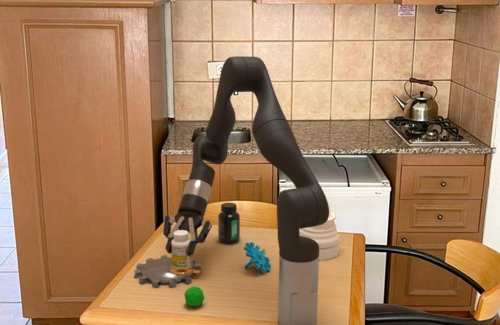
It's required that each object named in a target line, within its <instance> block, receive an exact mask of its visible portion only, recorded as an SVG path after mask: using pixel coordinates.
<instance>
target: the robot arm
mask: <svg viewBox="0 0 500 325" xmlns="http://www.w3.org/2000/svg"><path fill="white" fill-rule="evenodd" d="M250 92H251V93H252V94H254V96H255V97H256V101H257V109H256V112H255V115H254V119H253V121H252V127H251V131H252V136H253V138H254V141H255V143H256V146H257V148H258V152H259V153H260V154H261V156H263V158H264V160H266V161H267V162H268V163H269V164H271V165H272V166H273V167H274V168H276V169H277V170H278V171H280V172H281V173H283V174H284V175H285V176H286V177H287V178H288V179H289V180H290V181H291V182H292V184H293V185H294V188H289V189H284V190H281V191H280V193H279V194H278V196H277V201H276V219H277V220H276V224H277V243H278V249H279V250H278V251H279V252H278V253H279V254H278V255H279V257H278V258H279V259H278V264H279V265H278V298H277V299H278V300H277V301H278V304H277V305H278V306H277V307H278V310H277V312H278V313H277V314H278V315H277V316H278V317H277V321H278V324H279V325H317V323H318V298H319V297H318V296H319V295H318V293H319V269H320V267H319V266H320V260H319V245H318V243H317V242H316V241H314V240H313V239H310V238H307V237H303V236H300V233H299V229H302V228H308V227H314V226H319V225H322V224H324V223H326V221H327V220H328V218H329V210H330V207H329V206H330V205H329V202H328V199H327V196H326V194H325V192H324V190H323V188H322V186H321V184H320V183H319V181H318V179H317V178H316V176H315V175H314V173H313V171H312V169H311V168H310V166H309V164H308V163H307V160H306V158H305V157H304V154H303V152H302V151H301V148H300V145H299V144H298V142H297V140H296V137H295V134H294V132H293V130H292V128H291V125H290V123H289V121H288V120H287V117H286V116H285V113H284V111H283V109H282V107H281V105H280V104H281V103H280V102H279V100H278V97H277V95H276V92H275V89H274V86H273V83H272V80H271V77H270V73H269V70H268V68H267V66H266V64H265V62H264V61H263V59H262V58H260V57H258V56H240V55H239V56H238V55H237V56H230V57H227V59H225V61H224V62H223V65H222V67H221V71H220V75H219V80H218V83H217V90H216V94H215V95H216V96H215V100H214V101H215V102H214V106H213V110H212V113H211V116H210V118H209V120H208V123H207V126H206V128H205V135H199V136H198V137H196V138H195V140H194V141H193V144H192V166H191V171H190V174H189V178H188V179H187V183H186V184H185V187H184V190H183V193H182V196H181V199H180V202H179V205H178V209H177V213H176V214H175V215H174V216H169V215H166V216H165V217H164V224H163V235H164V237H165V238H166V239H167V242H166V244H165V250H166V252H167V254H171V255H172V249H171V242H172V240H173V239H174V232H175V231H178V230H185V231H188V234H190V242H189V246H188V249H187V253H186V254H187V255H188V256H191V257H192V256H193V255H194V253H195V250H196V247H197V244H200V243H201V244H204V243H205V241H206V239H207V238H208V236H209V233H210V231H211V229H212V228H213V224H212V223H211V222H210V220H204V217H205V214H206V210H207V208H208V203H209V201H210V197H211V191H212V187H213V184H214V181H215V177H216V171H215V169H214V168H213V167H212V166H210V165H208V164H207V163H206V162H208V163H210V164H213V165H218V166H219V165H221V164H223V163H224V162H225V161H226V159H227V158H228V154H229V153H228V152H229V139H230V136H231V134H232V132H233V129H234V127H235V124H236V120H237V119H236V111H235V109H234V107H233V105H232V101H231V97H232V96H233V94H234V93H250ZM174 222H175V225H174ZM172 225H174V226H173V227H172ZM200 227H202V228H201V231H200V232H199V234H198V229H199V228H200Z"/></svg>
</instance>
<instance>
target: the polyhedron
mask: <svg viewBox="0 0 500 325" xmlns="http://www.w3.org/2000/svg"><path fill="white" fill-rule="evenodd" d="M204 295H205V294H204V290H203V289H202V288H201V287H199V286H193V285H192V286H190V287H189V288H188V289H186V290H185V292H184V300H185V303H186V305H188V306H189V307H193V308H194V307H195V308H196V307H198V306H200V305H201V304H203V302H204V300H205V296H204Z"/></svg>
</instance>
